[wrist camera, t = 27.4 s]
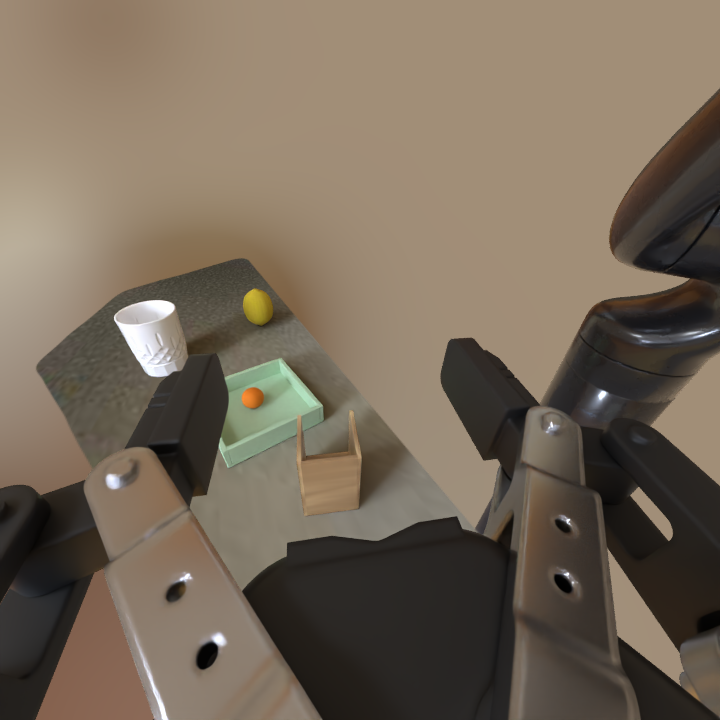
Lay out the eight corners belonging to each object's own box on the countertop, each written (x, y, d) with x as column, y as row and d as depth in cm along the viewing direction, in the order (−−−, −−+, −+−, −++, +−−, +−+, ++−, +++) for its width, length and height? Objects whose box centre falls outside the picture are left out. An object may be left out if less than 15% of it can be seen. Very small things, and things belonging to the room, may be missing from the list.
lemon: (242, 325, 63) (233, 288, 58) (264, 316, 66) (258, 280, 62) (257, 335, 60) (250, 297, 55) (281, 325, 64) (275, 288, 59)
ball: (259, 389, 46) (253, 409, 45) (241, 384, 44) (234, 404, 43) (270, 390, 44) (264, 411, 43) (252, 385, 42) (245, 407, 41)
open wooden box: (358, 509, 33) (361, 457, 28) (304, 516, 32) (296, 465, 27) (351, 461, 38) (352, 409, 33) (303, 466, 37) (297, 414, 32)
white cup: (197, 349, 56) (180, 298, 50) (189, 376, 50) (168, 322, 44) (148, 354, 54) (124, 302, 48) (134, 383, 48) (104, 327, 42)
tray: (283, 371, 51) (281, 357, 50) (324, 420, 43) (323, 405, 41) (199, 403, 45) (193, 388, 43) (228, 468, 37) (222, 452, 35)
